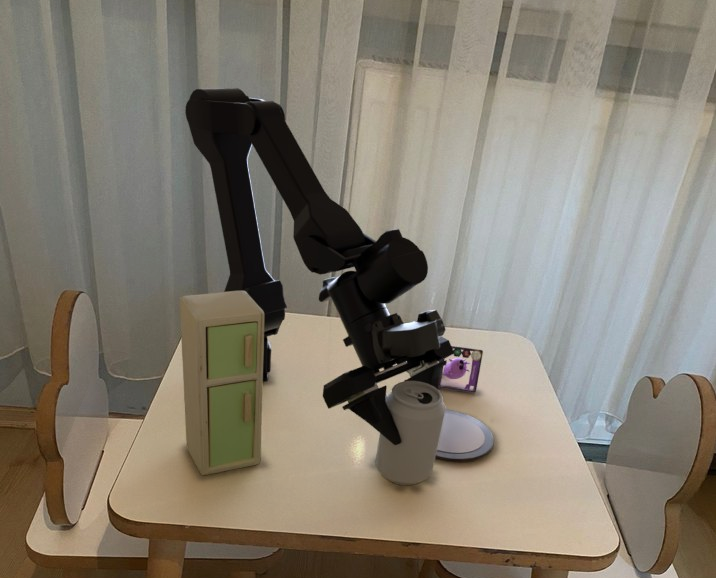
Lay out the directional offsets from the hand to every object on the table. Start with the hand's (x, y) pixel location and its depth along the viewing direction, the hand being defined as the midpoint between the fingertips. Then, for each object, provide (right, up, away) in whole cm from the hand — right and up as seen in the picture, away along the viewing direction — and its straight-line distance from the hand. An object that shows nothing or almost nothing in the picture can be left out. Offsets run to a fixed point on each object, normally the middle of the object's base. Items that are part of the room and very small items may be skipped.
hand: (418, 433), depth 88 cm
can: (-2, -5, +5) cm, 7 cm away
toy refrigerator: (-25, -3, +3) cm, 25 cm away
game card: (+7, +9, +26) cm, 29 cm away
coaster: (+5, 0, +13) cm, 14 cm away
